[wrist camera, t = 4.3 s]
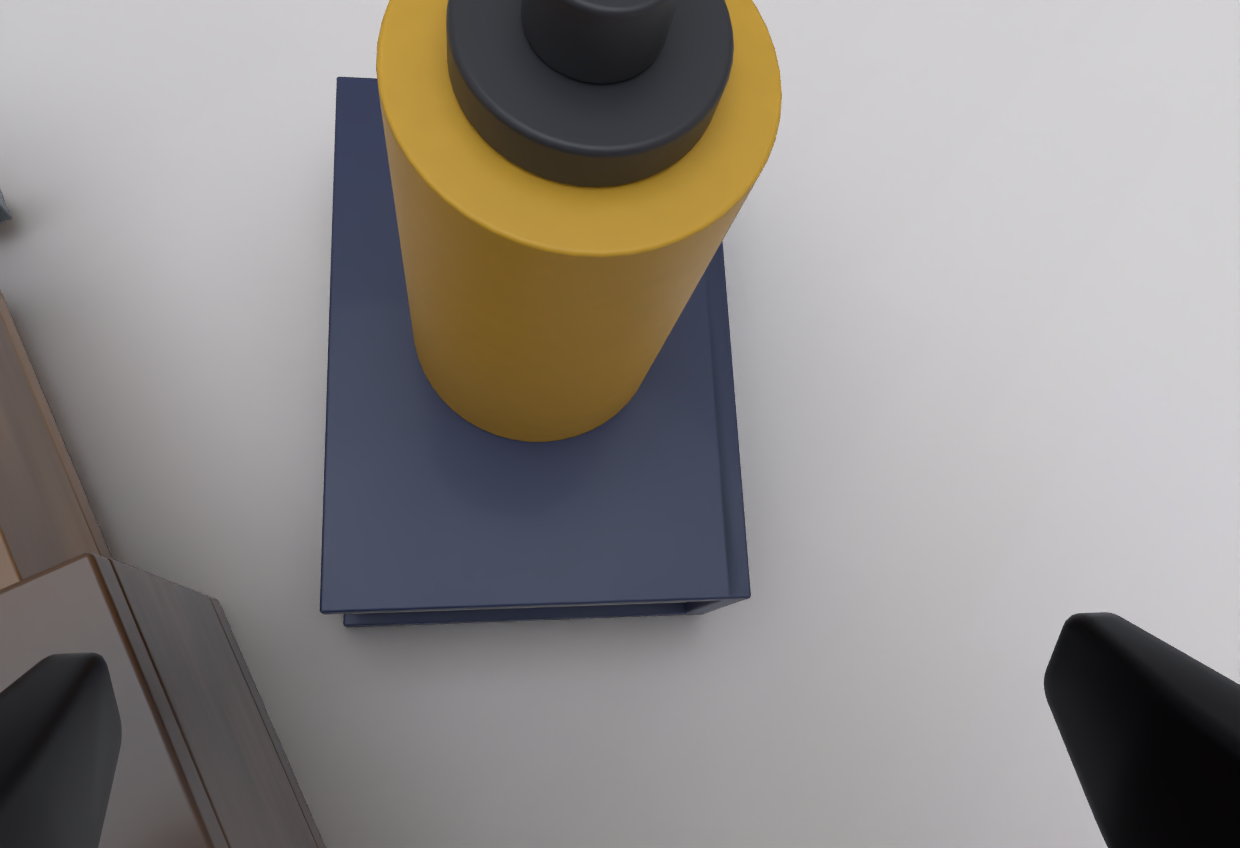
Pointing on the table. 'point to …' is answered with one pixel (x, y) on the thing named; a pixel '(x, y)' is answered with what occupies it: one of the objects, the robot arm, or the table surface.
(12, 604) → the cabinet
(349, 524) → the book
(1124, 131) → the table surface
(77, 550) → the drawer
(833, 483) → the table surface
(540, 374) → the glue bottle
